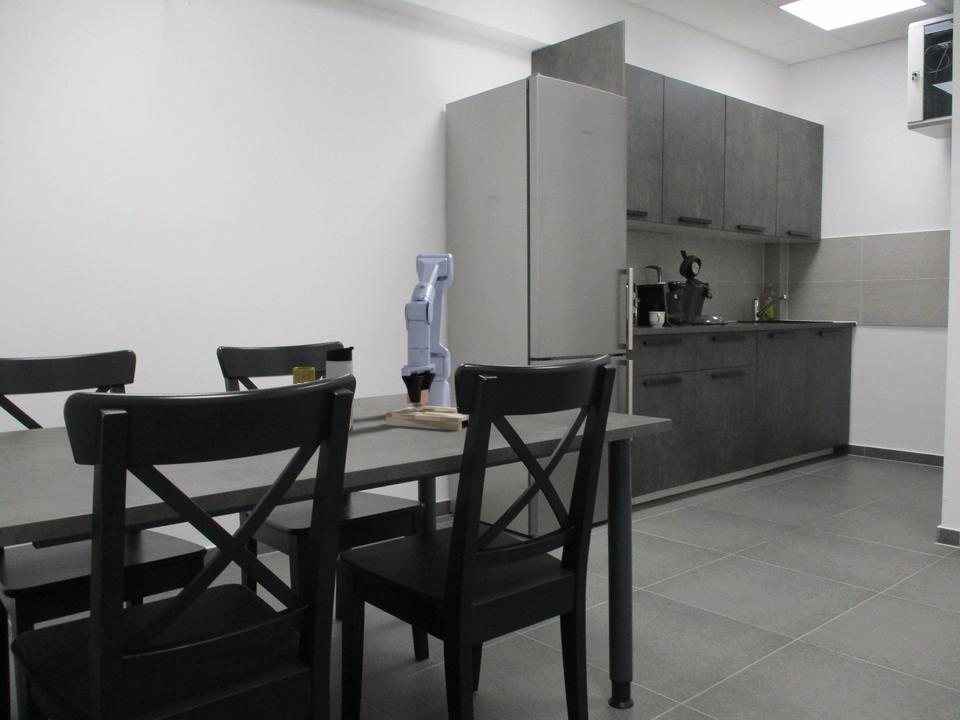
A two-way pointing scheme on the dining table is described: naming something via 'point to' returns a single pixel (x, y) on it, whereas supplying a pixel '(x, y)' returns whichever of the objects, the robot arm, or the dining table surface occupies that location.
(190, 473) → the dining table surface
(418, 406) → the keyhole peg
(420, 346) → the robot arm
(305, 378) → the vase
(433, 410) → the keyhole plate
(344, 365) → the travel mug
